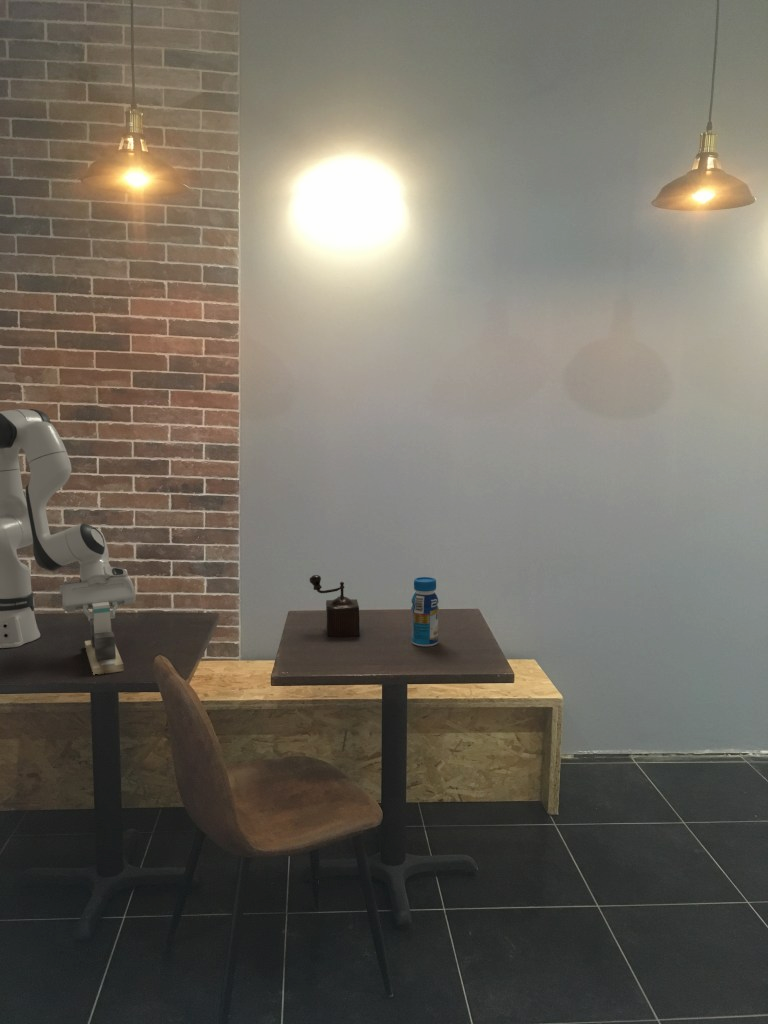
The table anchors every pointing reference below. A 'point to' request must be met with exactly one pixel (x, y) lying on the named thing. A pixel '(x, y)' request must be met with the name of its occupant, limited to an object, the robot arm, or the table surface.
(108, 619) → the block
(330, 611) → the manual coffee grinder
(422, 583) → the beverage bottle
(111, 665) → the rail board
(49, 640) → the table surface
